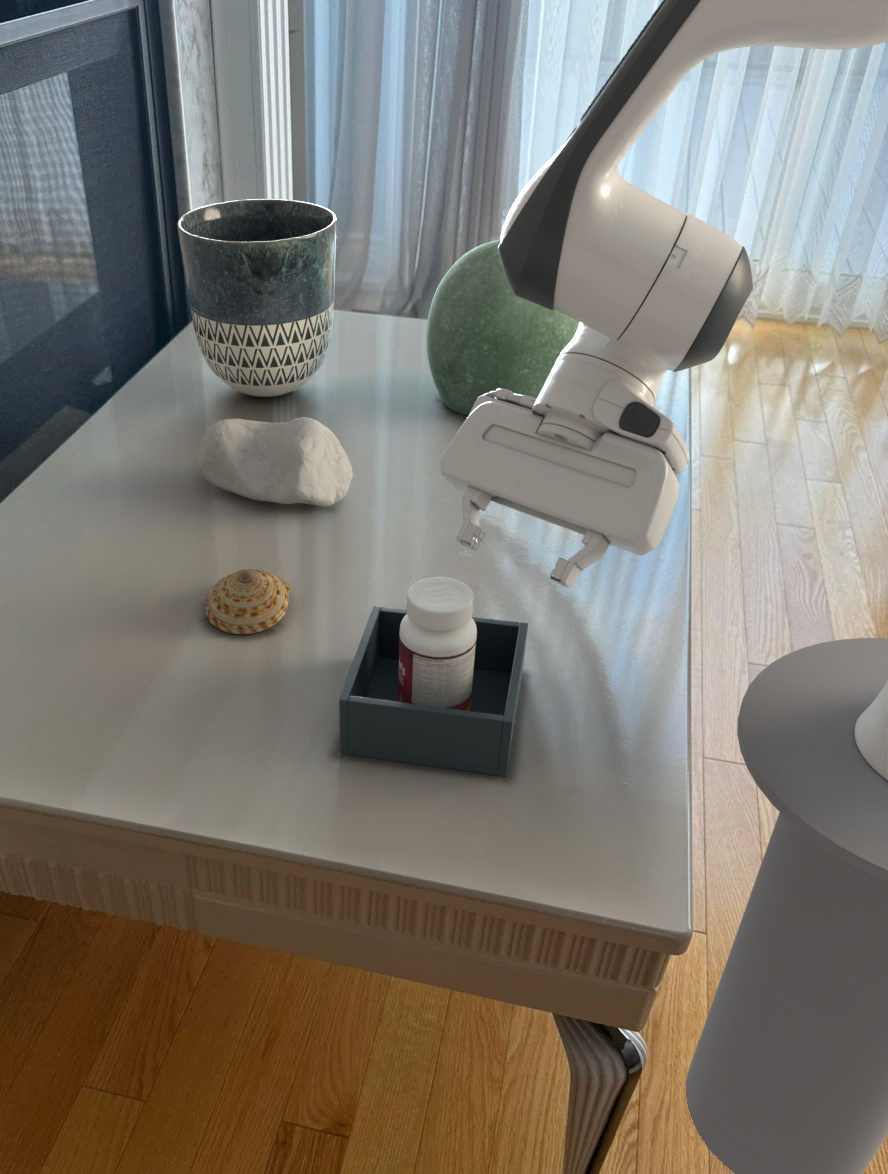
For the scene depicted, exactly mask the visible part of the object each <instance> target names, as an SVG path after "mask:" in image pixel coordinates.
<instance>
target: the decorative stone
mask: <svg viewBox="0 0 888 1174" xmlns="http://www.w3.org/2000/svg"><path fill="white" fill-rule="evenodd" d="M197 457H198V467H199V471H200V473H201V475H202V476H203V478H205V479H206V480H207V481H208V482H209V483H210V484H211V485H214V486H215V487H217V488H220V489H222V490H225V491H227V492H230V493H234V495H239V496H241V497H243V498H247V499H251V500H253V501H261V502H267V503H268V502H269V503H276V504H281V505H282V504H283V505H292V504H304V505H311V506H318V507H322V508H323V507H331V506H333V505H334V504H336V503H339V502H340V501H341V500H342V499H343V498H345V496H346V495H347V493H348V492H349V488H350V486H351V483H352V480H353V477H354V472H353V468H352V465H351V461H350V460H349V457H348V455H347V452H346V450H344V448H343V446H342V444H341V442H340V441H339V439H338V438H337V436H336V435H335V434H334V432H332V431H331V429H329V428H328V427H327V426H326V425H324V424H322V423H321V422H320V421H319V420H316V419H315V418H312V417H305V416H304V417H303V416H302V417H297V418H294V419H293V420H289V421H286V422H285V421H284V422H270V421H269V422H268V421H259V420H249V419H243V418H234V417H233V418H224V419H220V420H217V421H215V422H214V423H212V424H211V425H210V426H209V427H208V428H207V429H206V430H205V432H204V434H203V437H202V440H201V443H200V445H199V450H198V456H197Z"/></svg>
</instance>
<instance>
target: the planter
mask: <svg viewBox="0 0 888 1174" xmlns="http://www.w3.org/2000/svg"><path fill="white" fill-rule="evenodd" d="M176 225H177V233H178V234H177V235H178V241H179V248H180V253H181V258H182V265H183V270H184V277H185V284H186V290H187V295H188V302H189V308H190V313H191V320H192V324H193V330H194V334H195V338H196V341H197V344H198V347H199V350H200V352H201V355H202V357H203V359H204V361H205V362H206V364H207V366H208V367H209V369H210V370H211V371H212V373H214V375H215V376H216V377H217V378H219V380H220V381H222V382H223V383H224V384H225V385H227V386H229V387H230V388H231V389H233V390H235V391H237V392H238V393H242V394H243V395H247V396H251V397H258V398H259V397H260V398H271V397H272V398H273V397H278V396H282V395H286V394H289V393H292V392H294V391H296V390H297V389H299V388H301V387H302V386H304V385H305V384H306V383H308V381H310V380H311V379H312V378H313V376H315V374H316V373H317V371H318V370H319V369H320V368H321V366H322V365H323V363H324V361H325V359H326V358H327V354H328V352H329V351H328V350H329V347H330V344H331V339H332V335H333V328H334V313H335V312H334V309H335V290H336V289H335V287H336V285H335V284H336V253H337V252H336V251H337V217H336V214H335V213H334V212H333V211H331V210H330V209H329V208H326V207H324V206H321V205H319V204H314V203H311V202H305V201H300V200H291V199H278V198H277V199H275V198H265V199H264V198H257V199H256V198H255V199H253V198H252V199H241V200H239V199H238V200H231V201H224V202H218V203H213V204H209V205H208V204H207V205H205V206H201V207H198V208H195V209H193V210H191V211H188V212H187V213H185V214H183V215H182V216H180V218H179V219H178V221H177V223H176Z"/></svg>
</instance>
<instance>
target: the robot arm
mask: <svg viewBox="0 0 888 1174" xmlns="http://www.w3.org/2000/svg"><path fill="white" fill-rule="evenodd" d="M887 42H888V0H662V1H660V4H659V5H658V7H657V8H656V9H655V10H654V12H653V13H652V15H651V16H650V19H649V20H648V21H647V22H646V24H645V25H644V26H643V29H641V30H640V32H639V34H637V36H636V38H635V39H634V41H633V42H632V43H631V45H630V46H629V48H628V49H627V51H626V53H625V54H624V56H622V58H621V59H620V61H619V63H618V64H617V65H616V66H615V68H614V69H613V71H612V73H611V74H610V75H609V77H608V78H607V79H606V81H605V83H604V84H603V85H602V87H601V88H600V90H599V91H598V93H597V94H596V96H595V97H594V98H593V99H592V101H591V102H590V105H588V106H587V109H586V110H585V112H583V114H582V115H581V118H580V119H579V121H578V123H577V124H576V126H575V127H574V129H573V130H572V132H571V133H570V134H569V136H568V137H567V138H566V140H565V141H564V142H563V144H562V145H561V147H560V148H559V149H558V150H557V151H556V152H555V153H554V154H553V156H552V157H550V159H548V161H547V162H546V163H545V164H544V165H543V166H542V167H541V168H540V169H539V170H538V171H537V172H536V173H535V175H534V176H533V177H531V179H530V180H529V181H528V182H527V184H526V185H525V186H524V187H523V189H522V190H521V192H520V193H519V194H518V196H517V198H516V199H515V201H514V202H513V204H512V206H511V208H510V209H509V211H508V214H507V216H506V218H505V221H504V224H503V226H502V229H501V233H500V239H499V240H500V244H499V246H498V253H499V257H500V261H501V264H502V267H503V270H504V273H505V275H506V277H507V280H508V282H509V284H510V286H511V288H512V290H513V292H514V294H515V295H516V296H518V297H521V298H523V299H526V300H528V301H530V302H533V303H535V304H538V305H540V306H543V307H545V308H548V309H550V310H553V311H555V309H556V310H557V311H559V312H561V313H563V314H565V315H567V316H569V317H571V318H573V319H575V320H576V321H578V322H579V325H578V329H577V331H576V333H575V335H574V337H573V339H572V340H571V342H570V343H569V344H568V345H567V346H566V347H565V348H564V349H563V350H562V352H561V353H560V355H559V356H558V358H557V360H556V362H555V364H554V366H553V368H552V370H551V372H550V374H549V376H548V378H547V380H546V382H545V384H544V386H543V388H542V390H541V392H540V394H539V395H538V397H537V398H534V397H531V396H527V395H521V394H517V393H513V392H512V391H510V390H507V389H502V388H500V389H497V390H496V391H492V392H488V393H486V394H484V395H481V396H480V397H479V398H478V399H477V400H476V402H475V404H474V406H473V408H472V410H471V412H470V413H469V416H467V417H466V419H465V420H464V421H463V422H462V424H461V426H460V427H459V428H458V430H457V432H456V434H455V435H454V437H453V438H452V439H451V441H450V443H449V444H448V446H447V448H446V449H445V450H444V453H443V454H442V457H441V458H440V461H439V465H440V472H441V475H442V476H443V478H444V479H445V480H446V481H447V482H448V483H449V484H450V485H452V486H453V487H454V488H456V489H458V490H459V491H463V492H465V493H464V495H463V497H462V515H463V524H462V525H461V527H460V529H459V531H458V533H457V535H456V542H457V543H459V544H460V545H461V546H463V547H465V548H467V549H471V550H473V551H477V550H478V549H479V548H480V547H481V542H482V541H483V540H484V538H485V536H486V534H487V533H486V532H485V531H484V530H483V529H482V528H481V527H480V511H482V512H486V511H487V510H488V507H489V505H490V504H491V502H493V503H495V504H499V505H501V506H505V507H506V508H510V509H512V510H515V511H517V512H520V513H523V514H525V515H528V516H530V517H531V516H532V517H533V518H536V519H539V520H542V521H544V522H547V523H550V524H553V525H555V526H557V527H560V528H564V529H566V530H569V531H571V532H574V533H577V534H580V535H583V538H582V539H581V543H582V544H583V545H584V547H583V548H582V549H579V551H578V552H576V553H575V554H574V555H572V556H571V557H570V558H569V559H568V560H567V559H564V558H561V557H558V559H557V560H556V562H555V567H554V568H553V569H552V570H551V573H550V577H549V578H550V580H552V581H553V583H555V584H558V585H560V586H563V587H564V588H567V589H572V588H573V587H574V584H575V583H576V581H577V579H578V577H579V575H580V574H581V571H584V570H586V569H587V568H588V567H590V566H592V565H593V564H594V563H596V562H597V561H599V560H600V559H602V558H603V557H604V556H605V554H606V552H607V549H608V548H609V546H612V547H615V548H618V549H621V550H623V551H626V552H629V553H632V554H634V555H637V556H640V557H641V556H645V555H646V554H648V553H650V552H652V551H654V550H655V549H656V548H658V546H659V544H660V542H661V541H662V539H663V537H664V534H665V532H666V531H667V528H668V525H670V524H669V523H670V521H671V519H672V516H673V513H674V511H675V508H676V505H677V502H678V499H679V494H680V483H679V480H678V478H677V476H678V475H681V474H682V473H683V472H684V471H685V469H686V468H687V466H688V464H689V462H690V459H691V458H690V452H689V449H688V446H687V443H686V442H685V438H684V437H683V436H682V433H681V432H680V430H679V429H678V427H677V426H676V425H675V423H674V422H673V420H672V419H670V418H669V417H668V416H667V415H665V414H663V413H662V412H661V411H659V410H658V409H657V408H655V407H654V405H655V403H656V402H657V401H656V400H657V398H658V394H659V388H660V385H661V383H662V379H663V378H664V376H665V374H666V373H667V371H672V373H676V372H681V371H685V370H688V369H690V368H694V367H696V366H701V365H703V364H706V363H709V362H711V361H713V360H715V358H716V357H717V356H718V355H719V353H720V352H721V351H722V349H723V347H724V346H725V344H726V342H727V340H728V338H729V336H730V334H731V331H732V330H733V328H734V325H735V323H736V321H737V320H738V318H739V315H740V313H741V312H742V309H743V307H744V306H745V304H746V302H747V300H748V298H749V296H750V295H751V293H752V291H753V289H754V284H753V274H752V272H753V271H752V268H751V267H752V266H751V262H750V259H749V255H748V253H747V250H746V248H745V246H744V245H743V246H742V245H741V243H739V242H738V241H737V240H736V239H734V238H733V237H731V236H730V235H729V234H727V233H725V232H723V231H721V230H720V229H718V228H717V227H714V226H713V225H711V224H709V223H708V222H705V221H704V220H701V219H699V218H698V217H696V216H694V215H692V214H690V213H689V212H686V213H685V212H683V211H682V210H680V209H678V208H676V207H674V206H672V205H670V204H668V203H667V202H665V201H663V200H661V199H659V198H657V197H655V196H654V195H652V194H650V193H648V192H646V191H644V190H643V189H641V188H638V187H636V186H635V185H634V184H631V183H629V182H628V181H627V180H625V179H624V178H623V177H622V176H621V175H620V172H619V170H618V167H619V164H620V162H621V161H622V160H623V159H624V157H625V156H626V154H627V153H628V152H629V151H630V149H631V148H632V147H633V145H634V144H635V142H636V141H637V140H638V138H639V137H640V136H641V135H642V133H643V132H644V130H645V129H646V128H647V127H648V125H649V124H650V122H651V121H652V120H653V118H655V116H656V114H658V112H659V110H661V108H662V106H663V105H664V104H665V103H666V101H667V100H668V98H670V96H671V95H672V93H673V92H674V91H675V89H676V88H677V87H678V85H679V84H680V83H681V81H683V79H684V78H685V77H686V76H687V75H688V73H690V72H691V71H692V70H693V69H694V68H695V67H697V66H698V65H700V64H701V63H702V62H703V61H705V60H707V59H709V58H710V57H713V56H714V55H717V54H720V53H723V52H727V51H729V50H735V49H741V48H750V47H781V48H782V47H784V48H796V49H813V50H829V51H830V50H832V51H833V50H849V49H850V50H851V49H859V48H865V47H872V46H875V45H880V44H883V43H887ZM491 396H494V397H495V398H491ZM854 734H855V740H856V744H857V746H858V749H859V751H860V752H861V754H862V756H863V757H864V758H865V760H866V761H867V762H868V764H869V765H870V766H871V767H872V768H873V769H874V770H875V771H876V772H877V773H878V774H880V775H881V776H882V777H883V778H885V779H886V780H887V781H888V681H887V683H886V684H885V686H884V687H883V689H882V690H881V692H880V693H879V694H878V696H877V697H876V698H875V700H874V701H873V702H872V703H871V704H870V706H869V707H868V708H867V709H866V710H865V711H864V712H863V713H862V714H861V715H860V716H859V718H858V720H857V722H856V724H855V730H854Z"/></svg>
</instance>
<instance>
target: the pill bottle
mask: <svg viewBox="0 0 888 1174" xmlns="http://www.w3.org/2000/svg"><path fill="white" fill-rule="evenodd" d="M406 600H407V601H406V610H407V614H406V615H405V616H404V618H403V620H402V622H401V625H400V633H399V678H398V702H402V703H410V704H417V705H425V706H433V707H441V708H449V709H456V710H464V711H469V709H470V706H471V696H472V685H473V672H474V661H475V648H476V638H477V627H476V624H475V622H474V620H473V618H472V617H473V614H474V593H473V590H472V588H470V586H469V585H467V584H466V583H464V582H463V581H461V580H458V579H455V578H452V577H445V576H434V577H433V576H432V577H426V578H423V579H419V580H418V581H416V582H414V583H413V584H412V585H411V586H410V587H409V589H408V590H407V594H406Z"/></svg>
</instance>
